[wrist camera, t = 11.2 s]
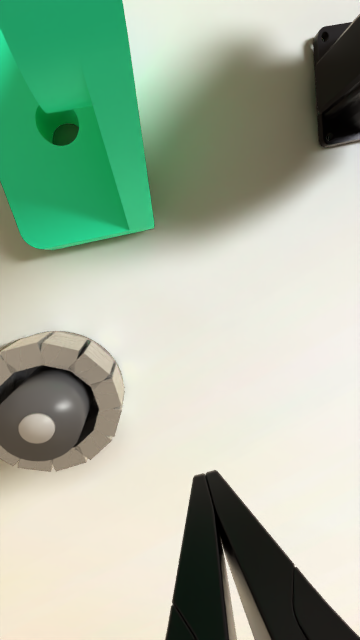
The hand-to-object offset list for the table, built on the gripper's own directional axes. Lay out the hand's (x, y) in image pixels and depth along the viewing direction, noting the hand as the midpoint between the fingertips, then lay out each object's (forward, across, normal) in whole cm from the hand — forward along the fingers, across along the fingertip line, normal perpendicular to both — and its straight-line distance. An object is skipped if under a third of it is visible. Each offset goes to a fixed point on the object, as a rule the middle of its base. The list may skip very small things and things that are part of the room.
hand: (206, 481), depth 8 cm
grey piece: (+11, +9, +1) cm, 15 cm away
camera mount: (+12, +3, -15) cm, 20 cm away
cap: (+11, +9, +1) cm, 14 cm away
